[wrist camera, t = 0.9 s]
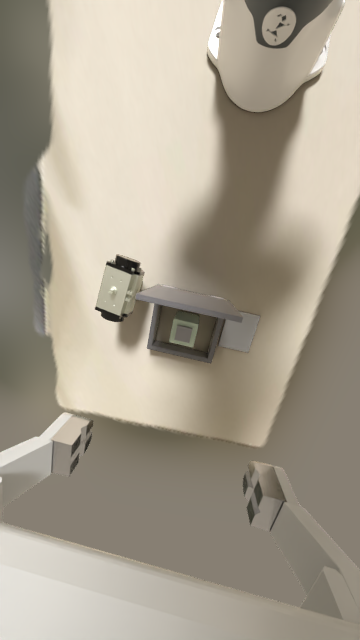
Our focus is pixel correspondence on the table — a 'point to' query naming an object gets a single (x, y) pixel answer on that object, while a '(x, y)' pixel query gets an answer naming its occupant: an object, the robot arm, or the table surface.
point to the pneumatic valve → (119, 288)
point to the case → (193, 304)
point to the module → (184, 329)
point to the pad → (239, 332)
